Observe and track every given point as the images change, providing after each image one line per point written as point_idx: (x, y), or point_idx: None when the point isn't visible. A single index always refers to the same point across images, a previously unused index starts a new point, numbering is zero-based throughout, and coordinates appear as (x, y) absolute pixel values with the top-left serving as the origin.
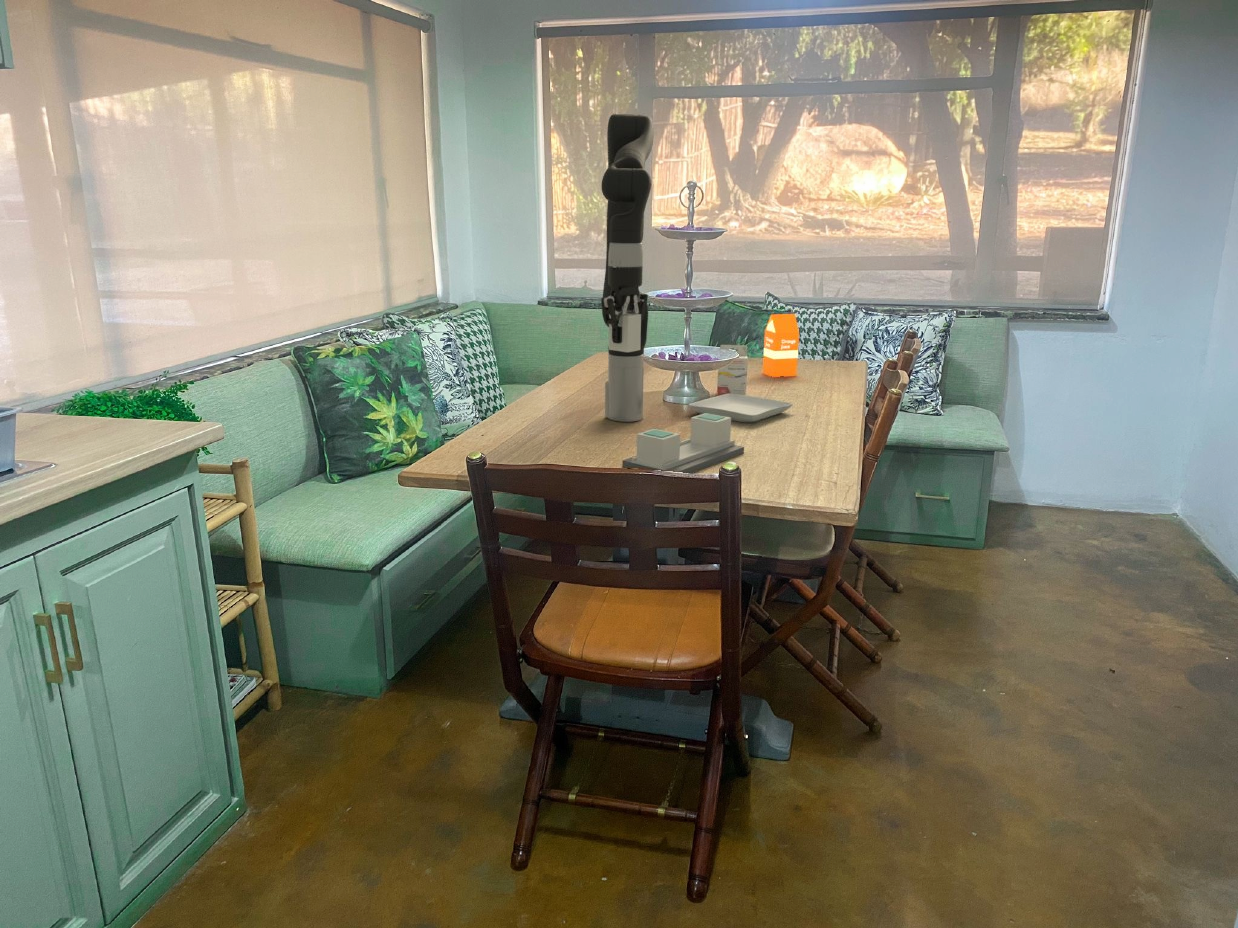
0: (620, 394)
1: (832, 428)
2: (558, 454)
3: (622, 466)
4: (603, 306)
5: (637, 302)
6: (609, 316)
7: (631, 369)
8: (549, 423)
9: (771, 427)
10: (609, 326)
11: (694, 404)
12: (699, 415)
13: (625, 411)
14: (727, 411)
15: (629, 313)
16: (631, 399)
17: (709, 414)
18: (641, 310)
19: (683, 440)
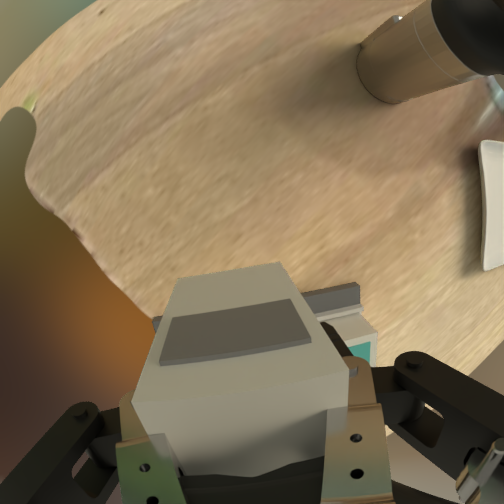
0: (389, 66)
1: (497, 329)
2: (111, 186)
3: (154, 317)
4: (8, 493)
5: (469, 459)
6: (138, 389)
7: (440, 71)
8: (248, 2)
9: (478, 285)
10: (155, 342)
11: (488, 143)
12: (354, 340)
13: (378, 86)
14: (485, 223)
15: (317, 456)
16: (400, 88)
17: (367, 349)
18: (421, 452)
19: (327, 293)
